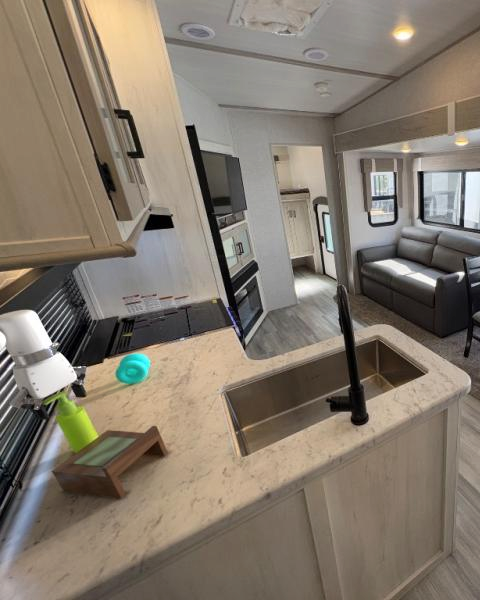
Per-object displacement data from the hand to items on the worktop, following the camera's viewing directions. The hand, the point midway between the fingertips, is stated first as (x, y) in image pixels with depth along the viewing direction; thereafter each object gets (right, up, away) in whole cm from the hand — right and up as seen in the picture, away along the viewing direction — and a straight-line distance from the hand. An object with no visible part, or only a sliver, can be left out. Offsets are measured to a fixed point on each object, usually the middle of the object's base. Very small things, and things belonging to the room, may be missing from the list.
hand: (63, 407), depth 88 cm
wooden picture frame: (+19, -17, -3) cm, 25 cm away
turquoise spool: (-14, -2, +41) cm, 43 cm away
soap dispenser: (+1, -15, +6) cm, 16 cm away
